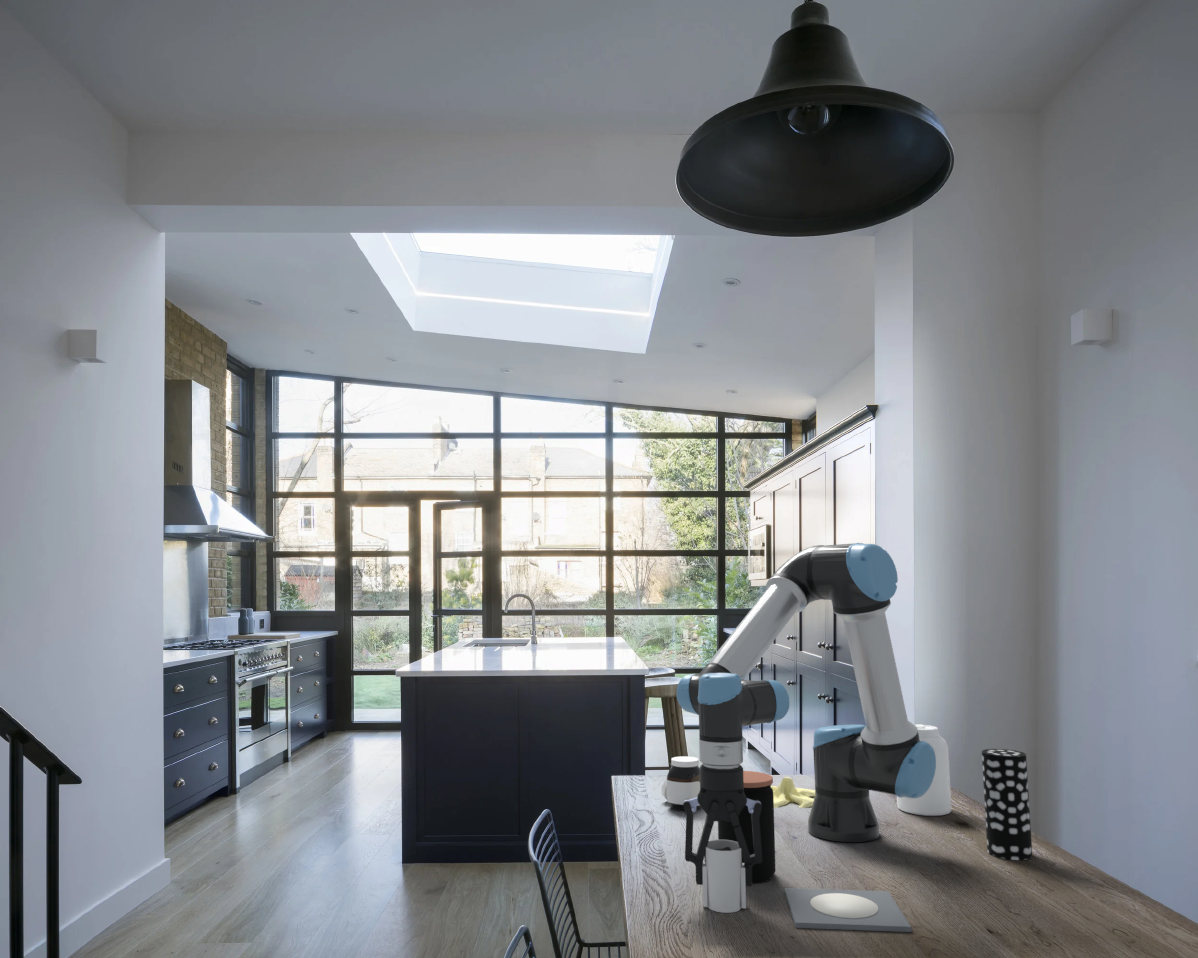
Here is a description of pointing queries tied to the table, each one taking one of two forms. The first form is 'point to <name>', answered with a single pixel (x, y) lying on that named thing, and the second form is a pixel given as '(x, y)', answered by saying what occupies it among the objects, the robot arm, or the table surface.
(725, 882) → the white cup
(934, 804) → the white bottle
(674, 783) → the spread jar
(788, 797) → the cloth
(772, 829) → the coffee jar
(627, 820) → the table surface
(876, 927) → the board
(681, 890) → the table surface
